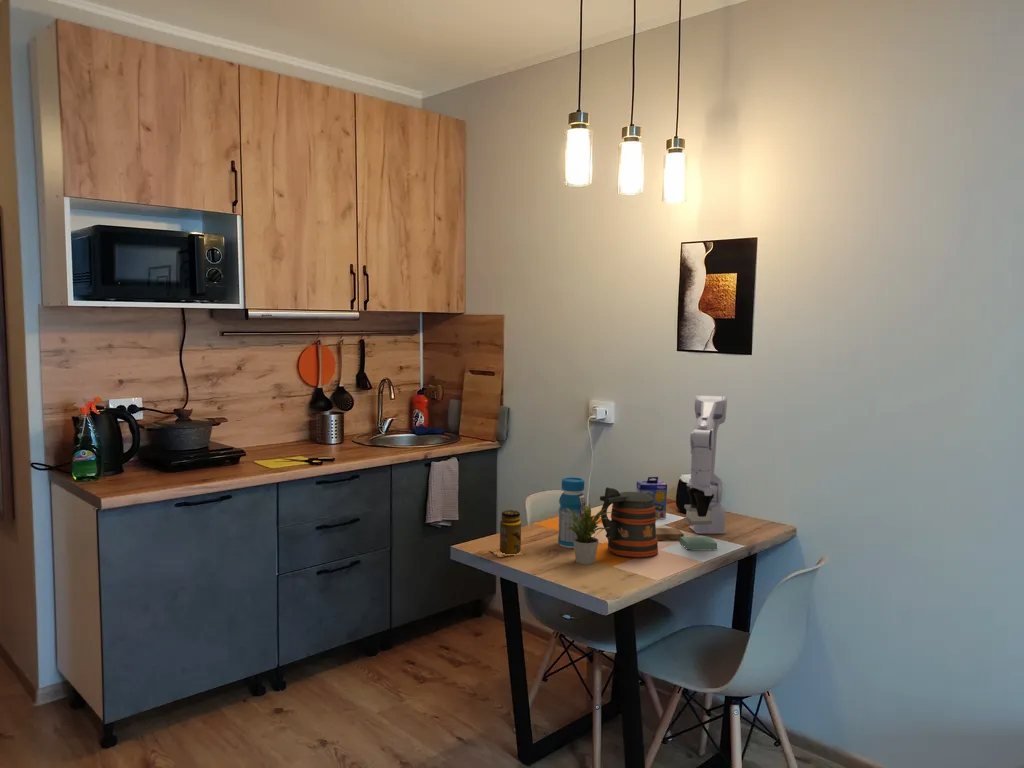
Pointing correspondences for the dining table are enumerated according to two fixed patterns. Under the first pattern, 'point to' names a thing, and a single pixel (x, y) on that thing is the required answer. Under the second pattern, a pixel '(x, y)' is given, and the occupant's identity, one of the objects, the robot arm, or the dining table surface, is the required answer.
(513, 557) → the dining table surface
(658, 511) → the ink cartridge box
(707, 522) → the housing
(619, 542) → the beer stein
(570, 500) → the beverage bottle
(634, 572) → the dining table surface
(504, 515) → the condiment
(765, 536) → the dining table surface
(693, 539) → the stand
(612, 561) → the dining table surface
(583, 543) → the house plant
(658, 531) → the stand
